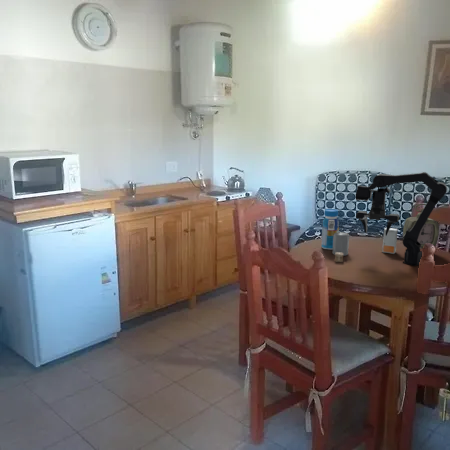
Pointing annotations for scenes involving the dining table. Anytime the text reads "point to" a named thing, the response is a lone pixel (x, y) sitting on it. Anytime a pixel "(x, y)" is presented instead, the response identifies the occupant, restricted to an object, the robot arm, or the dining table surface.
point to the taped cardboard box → (338, 257)
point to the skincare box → (390, 241)
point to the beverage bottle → (329, 228)
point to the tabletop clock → (424, 229)
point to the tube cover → (340, 243)
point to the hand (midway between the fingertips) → (376, 234)
